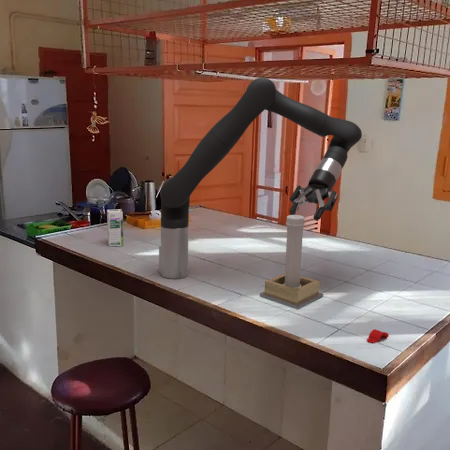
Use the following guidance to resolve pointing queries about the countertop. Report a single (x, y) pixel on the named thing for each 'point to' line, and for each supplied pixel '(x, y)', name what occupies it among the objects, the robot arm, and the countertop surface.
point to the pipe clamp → (376, 336)
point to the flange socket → (292, 292)
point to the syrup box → (115, 227)
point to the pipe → (294, 250)
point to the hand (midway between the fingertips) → (303, 217)
